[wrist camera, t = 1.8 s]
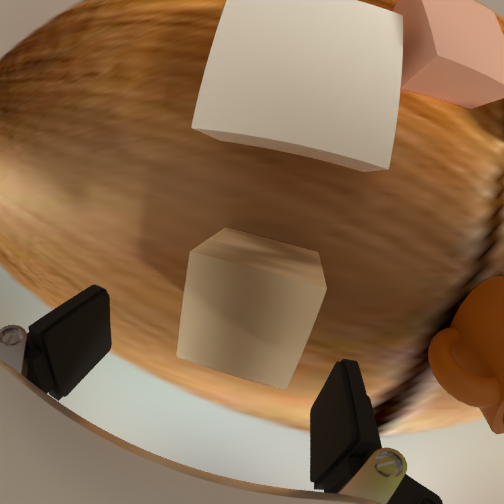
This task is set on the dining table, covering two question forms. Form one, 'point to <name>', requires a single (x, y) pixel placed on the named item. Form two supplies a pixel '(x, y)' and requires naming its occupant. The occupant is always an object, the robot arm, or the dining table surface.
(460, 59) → the pink cube
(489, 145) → the dining table surface
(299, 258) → the maple cube
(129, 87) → the dining table surface
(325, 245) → the dining table surface
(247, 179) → the dining table surface
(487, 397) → the mug
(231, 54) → the base block
